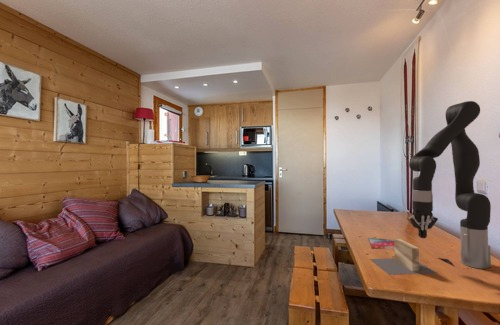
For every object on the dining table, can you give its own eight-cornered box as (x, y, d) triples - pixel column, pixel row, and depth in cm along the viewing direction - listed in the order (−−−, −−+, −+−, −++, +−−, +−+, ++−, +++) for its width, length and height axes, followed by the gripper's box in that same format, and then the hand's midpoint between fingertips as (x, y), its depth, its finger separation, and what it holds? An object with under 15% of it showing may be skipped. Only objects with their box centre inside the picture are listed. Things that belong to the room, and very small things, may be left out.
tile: (401, 259, 113) (400, 239, 113) (419, 271, 101) (419, 248, 101) (394, 260, 113) (394, 239, 113) (412, 271, 101) (411, 248, 101)
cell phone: (412, 256, 120) (412, 254, 120) (448, 261, 114) (448, 259, 114) (415, 262, 113) (415, 260, 113) (454, 267, 107) (454, 265, 107)
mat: (411, 259, 115) (411, 257, 115) (438, 275, 99) (438, 273, 99) (369, 261, 115) (369, 259, 115) (388, 276, 99) (388, 274, 99)
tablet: (403, 241, 143) (403, 240, 143) (415, 257, 119) (415, 255, 119) (367, 238, 150) (367, 237, 150) (372, 252, 126) (372, 251, 126)
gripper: (430, 198, 111) (430, 235, 111) (402, 198, 111) (402, 235, 111) (443, 201, 104) (443, 240, 104) (413, 201, 104) (414, 240, 104)
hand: (422, 237), depth 107 cm, fingers closed
